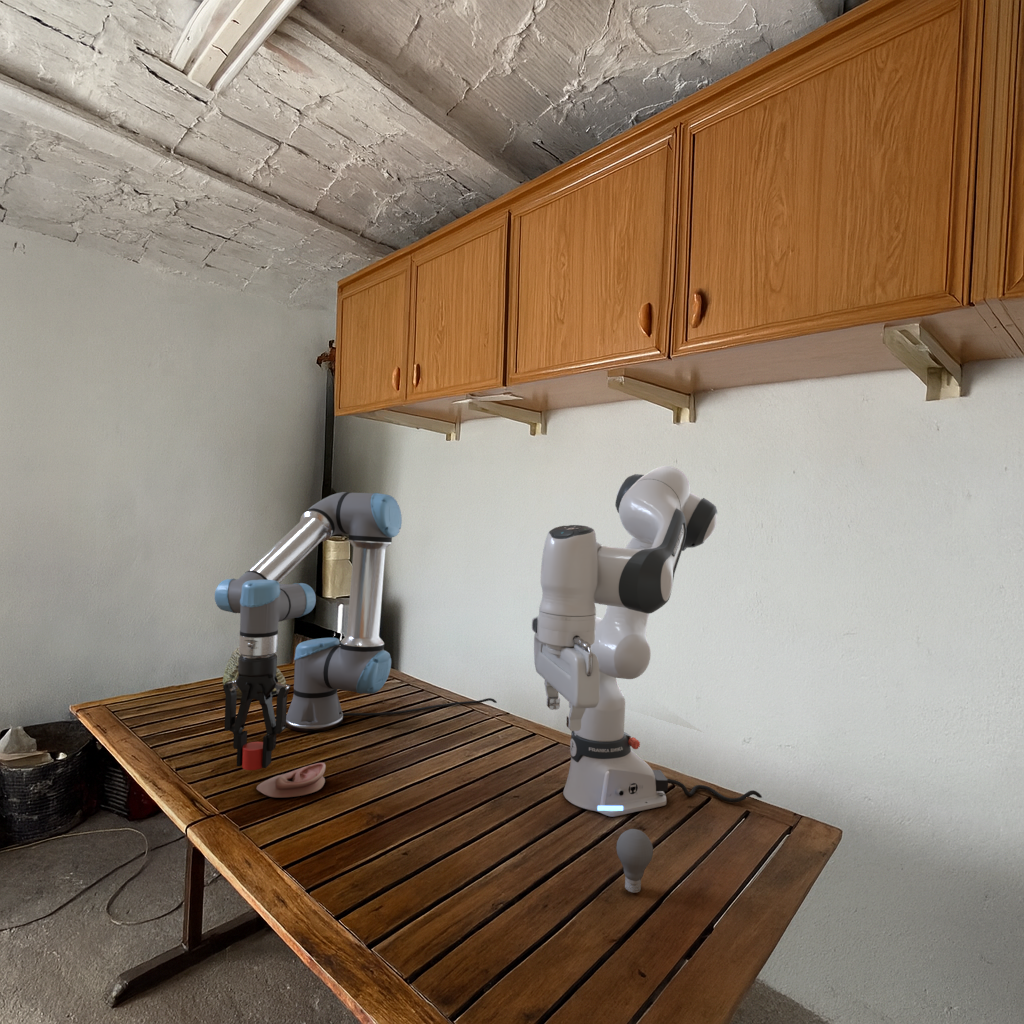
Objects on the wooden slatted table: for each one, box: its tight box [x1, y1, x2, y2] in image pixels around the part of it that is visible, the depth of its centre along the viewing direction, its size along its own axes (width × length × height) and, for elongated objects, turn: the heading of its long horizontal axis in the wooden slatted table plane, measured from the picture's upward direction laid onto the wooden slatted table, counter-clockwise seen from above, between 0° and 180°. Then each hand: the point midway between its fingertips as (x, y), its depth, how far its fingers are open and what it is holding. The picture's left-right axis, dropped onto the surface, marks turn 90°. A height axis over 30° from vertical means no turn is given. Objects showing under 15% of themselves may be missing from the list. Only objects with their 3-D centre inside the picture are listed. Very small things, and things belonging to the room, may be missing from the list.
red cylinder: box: [241, 741, 263, 771], centre depth 133 cm, size 5×5×4 cm
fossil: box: [222, 646, 287, 699], centre depth 198 cm, size 9×18×15 cm, turn 132°
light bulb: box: [615, 828, 654, 894], centre depth 106 cm, size 6×6×10 cm
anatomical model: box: [256, 762, 327, 799], centre depth 137 cm, size 13×4×12 cm
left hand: (253, 764), depth 133 cm, fingers closed on red cylinder, 5 cm apart
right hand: (562, 718), depth 99 cm, fingers open, 8 cm apart
